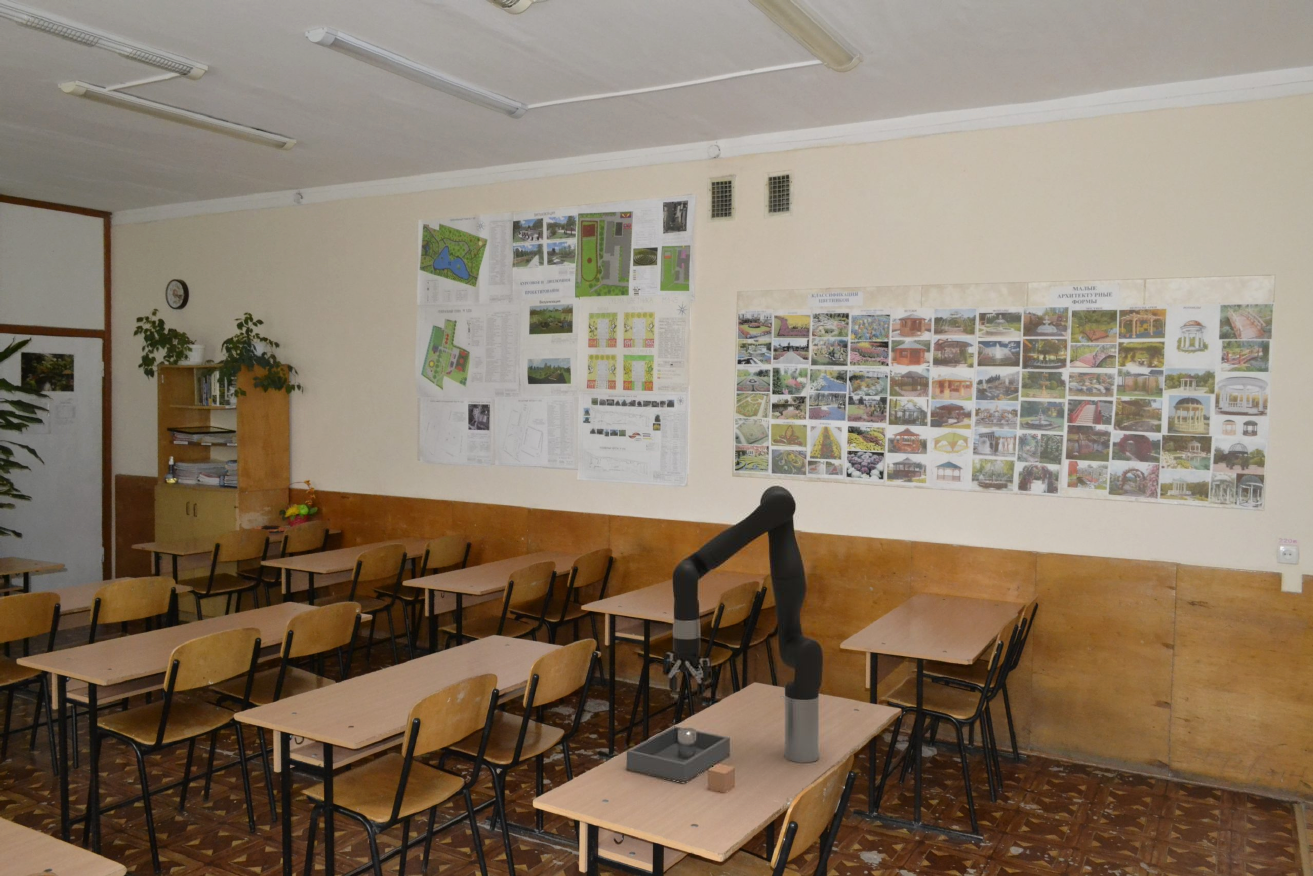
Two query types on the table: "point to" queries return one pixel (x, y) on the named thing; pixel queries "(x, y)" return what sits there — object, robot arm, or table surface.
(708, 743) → the tote
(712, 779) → the cube
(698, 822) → the table surface
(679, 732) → the cylinder
